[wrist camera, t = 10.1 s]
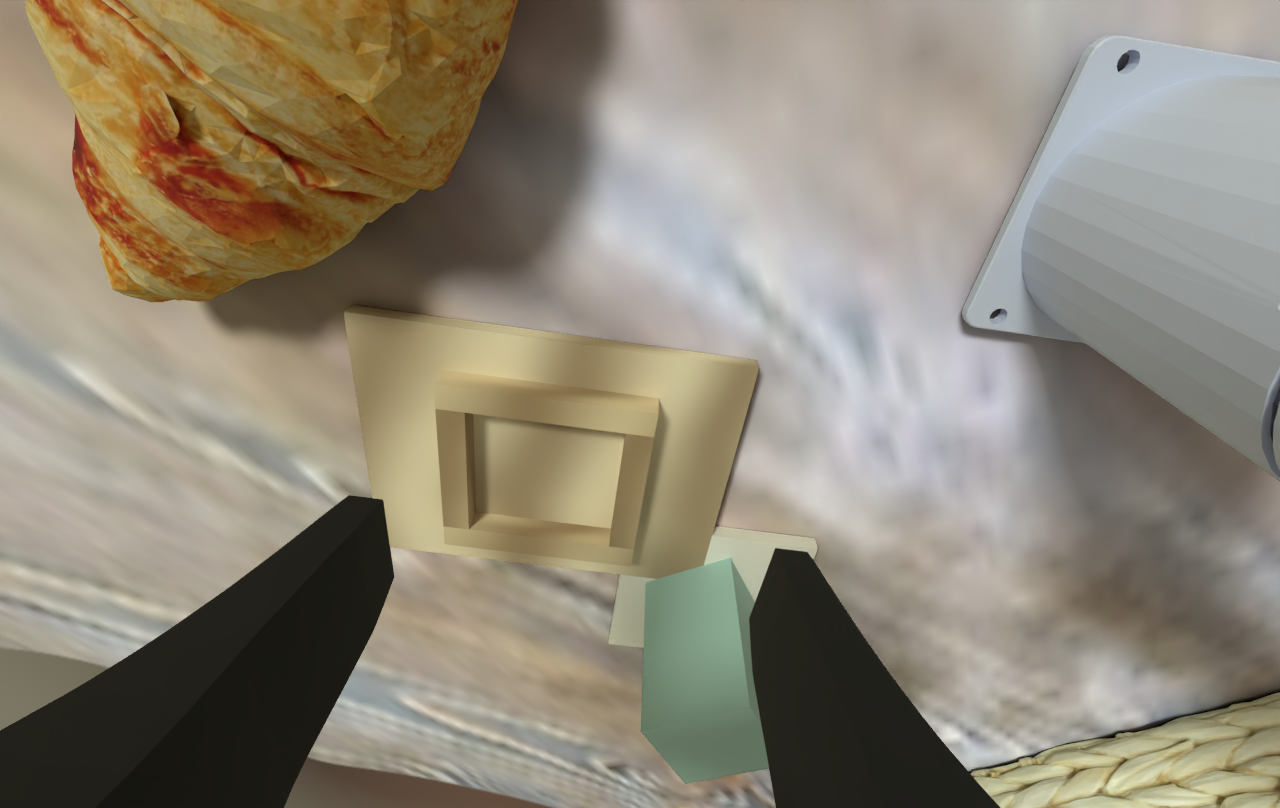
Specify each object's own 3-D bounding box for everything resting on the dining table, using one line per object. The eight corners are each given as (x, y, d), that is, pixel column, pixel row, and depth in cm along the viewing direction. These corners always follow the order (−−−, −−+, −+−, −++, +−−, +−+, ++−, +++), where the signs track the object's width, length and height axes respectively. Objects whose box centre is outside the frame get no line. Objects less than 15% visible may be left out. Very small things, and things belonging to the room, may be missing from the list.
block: (730, 557, 24) (750, 707, 19) (761, 613, 26) (787, 764, 21) (645, 582, 25) (640, 731, 20) (681, 634, 27) (685, 783, 22)
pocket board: (756, 360, 20) (763, 383, 19) (697, 573, 26) (699, 602, 24) (351, 304, 19) (328, 324, 18) (385, 535, 25) (369, 563, 24)
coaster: (814, 538, 24) (817, 548, 24) (767, 651, 29) (769, 662, 28) (629, 515, 24) (628, 525, 24) (609, 633, 28) (608, 643, 28)
